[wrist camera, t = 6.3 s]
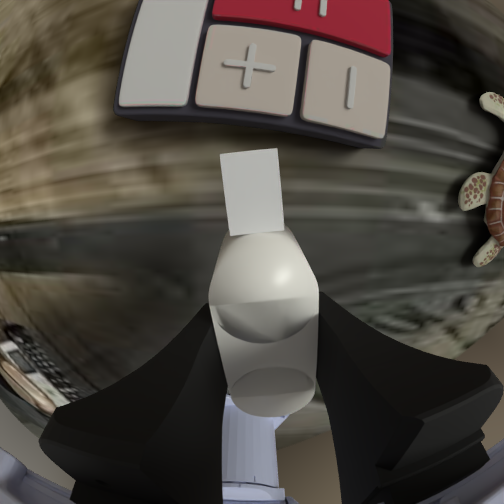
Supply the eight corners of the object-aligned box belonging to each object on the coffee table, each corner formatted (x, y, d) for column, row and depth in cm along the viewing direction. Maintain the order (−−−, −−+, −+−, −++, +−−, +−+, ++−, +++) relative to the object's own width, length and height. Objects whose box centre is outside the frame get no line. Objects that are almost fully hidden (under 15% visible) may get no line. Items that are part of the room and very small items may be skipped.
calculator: (392, 151, 12) (104, 114, 11) (359, 149, 17) (133, 121, 15) (398, -3, 9) (149, -43, 7) (370, 18, 13) (163, -13, 11)
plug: (300, 355, 13) (313, 412, 9) (239, 361, 13) (237, 419, 9) (290, 147, 9) (312, 145, 6) (206, 156, 9) (184, 159, 6)
